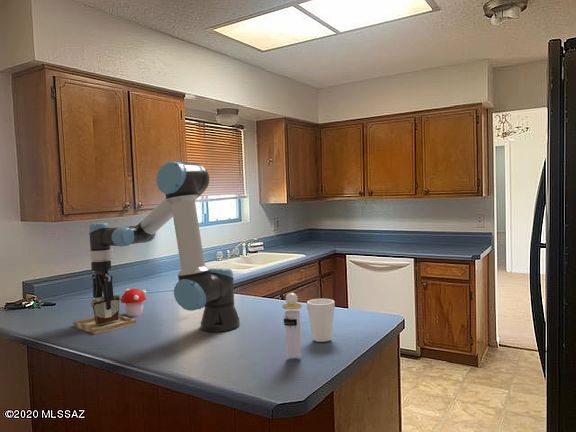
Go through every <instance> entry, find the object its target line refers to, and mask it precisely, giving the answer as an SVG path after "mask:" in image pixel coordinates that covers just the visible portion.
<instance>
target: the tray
mask: <svg viewBox="0 0 576 432" xmlns="http://www.w3.org/2000/svg"><path fill="white" fill-rule="evenodd" d="M72 323H73V327H75V328H77V329H80V330H82V331H85V332H88V333H90V334H93V335H99V334H103V333H106V332H110V331H115V330H119V329H122V328H126V327H131V326H135V325H137V320H136V319H134V318H131V317H129V316H124V315H121V314H119V320H117V321H113V322H109V323H105V324H102V325H98V326H97V325H96V323H95V317H94V316H93V317H90V318H84V319H81V320H75V321H72Z"/></svg>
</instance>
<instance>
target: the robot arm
mask: <svg viewBox="0 0 576 432" xmlns="http://www.w3.org/2000/svg"><path fill="white" fill-rule="evenodd" d="M209 184H210V174H209V172H208V170H207V169H206V167H205V166H203V165H202V164H199V163H196V162H186V161H181V160H176V161H175V160H174V161H167V162H165V163H163V165H161V167H160V169H158V171H157V174H156V186H157V188H158V190H160V192H162V193H163V194H165V198H164V199H163V200H162V201H161V202H160V203H159V204H158V205H157V206H156V207H155V208H154V209H152V210H151V211H150V213H148V214H147V215H145V217H144V218H142V220H140V222H139V223H138V224H136V225H130V226H129V225H128V226H120V227H110V224H109V223H108V222H97V223H96V222H94V223H93V222H92V223H91V224H90V225H89V226H88V228H89V229H88V231H89V232H88V235H89V247H90V252H89V253H90V260H91V264H90V265H91V268H90V269H91V271H92V272H94V273H92V274H91V278H92V279H91V280H92V296H93V299H95V298H98V297H103V296H104V300H105V301H103V303H104V318H108V317H112V313H111V301H112V300H114V296H115V295H114V288H113V287H114V286H113V276H112V275H109V270H111V269H112V261H111V259H112V257H111V253H112V251H111V247H128V246H130V245H134V244H136V245H137V244H145V243H149V242H152V241H153V240H154V239H155V238H156V237H155V236H156V233H157V232H158V231H159V230H160V229H161V228H162V227H163V226H164V225H166V224H167V223H168V222H169V221H170V220H171V219H173V224H174V230H175V231H174V232H175V237H176V242H177V243H176V244H177V252H178V256H179V257H178V258H179V263H180V271H178V274H177V278H178V281H177V283H175V286H174V288H173V296H174V299H175V301H176V303H177V305H179V306H180V307H181V308H182V309H183V310H186V311H188V312H189V311H191V312H192V311H197V310H201V309H203V308H204V309H203V313H202V317H201V321H200V329H201V330H202V331H205V332H211V333H218V332H227V331H232V330H235V329H237V328H239V327H240V325H241V323H240V320H241V319H240V317H239V315H238V312H237V309H236V307H235V291H234V288H235V287H234V274H233V270H232V269H230V268H219V267H218V268H217V267H216V268H214V267H212V268H210V267H208V266H207V265H206V264H205V257H204V256H205V255H204V251H203V245H202V238H201V231H200V225H199V220H198V213H197V206H196V200H197V199H198V198H199V197H200V196H201V195H203V194H204V193H205V191H206V190H207V188H208V187H209Z"/></svg>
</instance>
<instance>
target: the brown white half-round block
mask: <svg viewBox="0 0 576 432" xmlns="http://www.w3.org/2000/svg"><path fill="white" fill-rule="evenodd" d="M102 296H103V297H98V298H93V299H92V300H91V302H90V307H92V310H93V317H95V323H96V325H97V326H98V325H102V324H105V323H109V322H113V321H117V320H119V315H120V303H121V297H120V295H113V296H114V300H112V301H111V313H112V317H108V318H104V303H103V301H105V300H104V295H102Z"/></svg>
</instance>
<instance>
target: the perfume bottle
mask: <svg viewBox="0 0 576 432" xmlns="http://www.w3.org/2000/svg"><path fill="white" fill-rule="evenodd" d="M285 302H286V303H285V304H282V309H284V315H282V316H283V325H284V329H285V344H286V347H285V348H286V356H287V357H288V358H298V357H301V356H302V341H301V340H302V337H301V334H302V333H301V315H300V314H301V313H300V310H298V309H301V308H302V304H301V303H298V296H297V294H296V293H294V292H289V293H287V295H286V296H285Z"/></svg>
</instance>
